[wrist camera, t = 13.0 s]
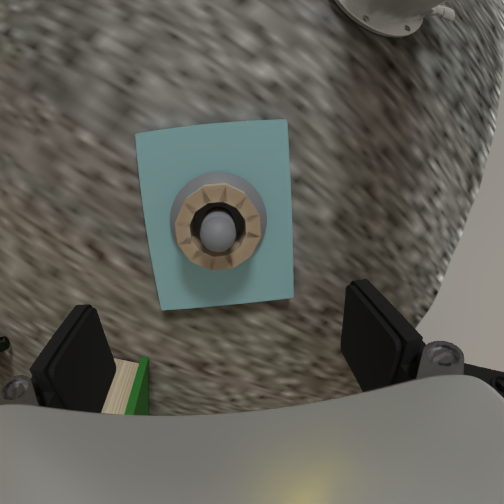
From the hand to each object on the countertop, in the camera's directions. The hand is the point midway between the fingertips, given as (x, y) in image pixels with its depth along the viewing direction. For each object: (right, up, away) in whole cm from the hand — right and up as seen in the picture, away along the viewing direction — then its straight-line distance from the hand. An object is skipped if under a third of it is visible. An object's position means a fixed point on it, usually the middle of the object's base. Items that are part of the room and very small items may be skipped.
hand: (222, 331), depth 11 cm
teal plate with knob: (-2, +6, +19) cm, 20 cm away
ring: (-2, +6, +17) cm, 18 cm away
